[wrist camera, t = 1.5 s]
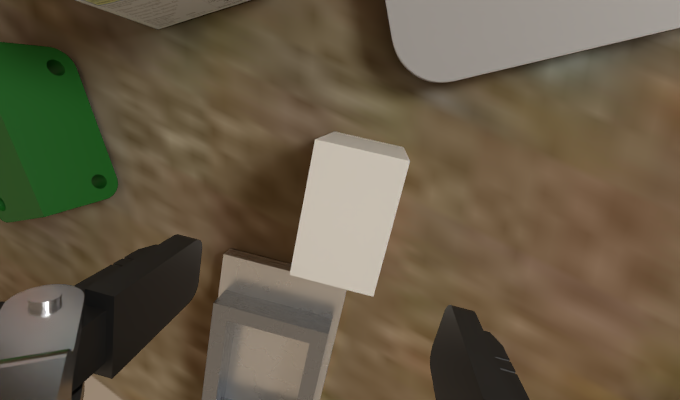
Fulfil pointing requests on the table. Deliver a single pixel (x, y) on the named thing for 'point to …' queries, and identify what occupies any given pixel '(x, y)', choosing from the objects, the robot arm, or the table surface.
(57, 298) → the robot arm
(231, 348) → the grey flat block
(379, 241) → the block
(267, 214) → the table surface
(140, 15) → the light bulb box
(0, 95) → the clamp
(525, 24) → the tablet
